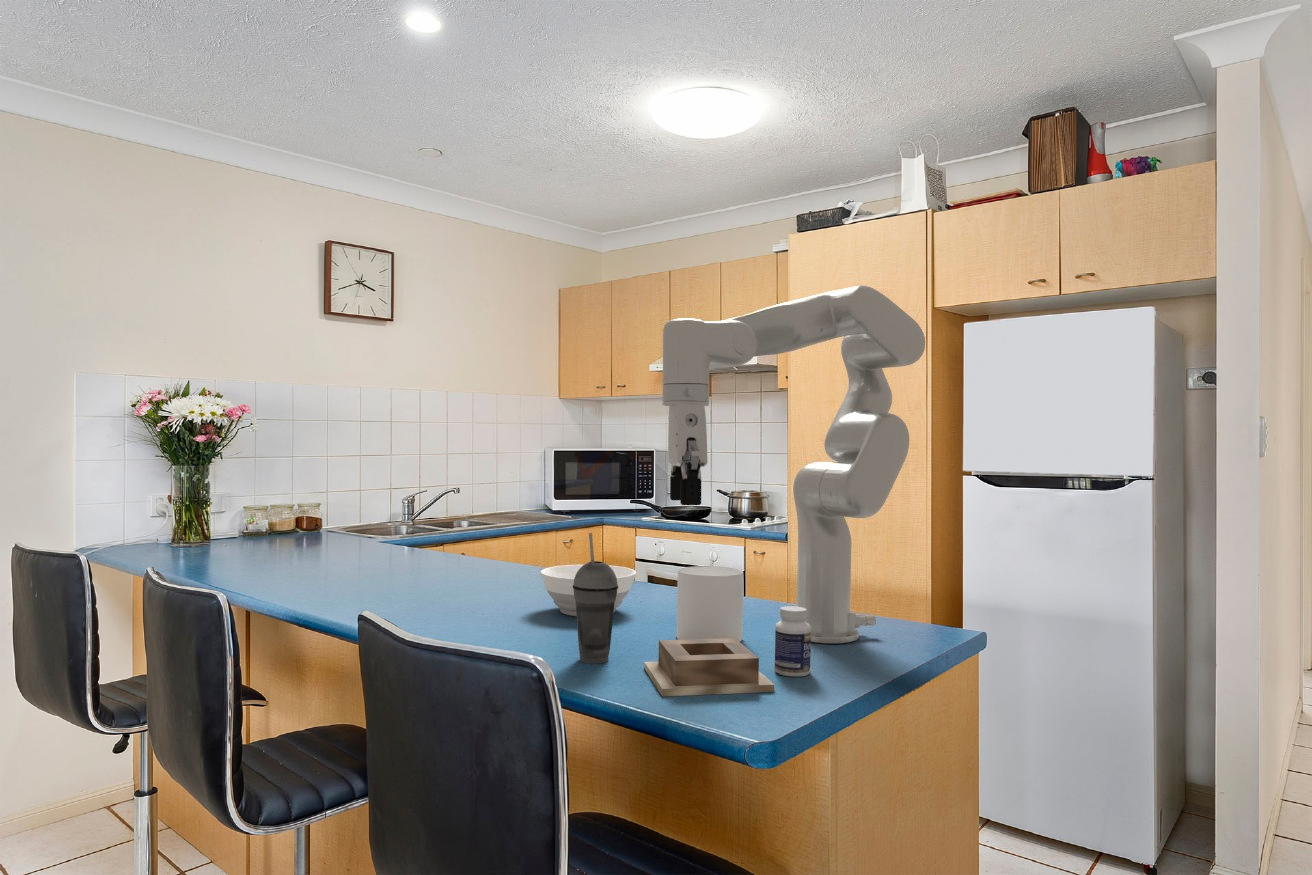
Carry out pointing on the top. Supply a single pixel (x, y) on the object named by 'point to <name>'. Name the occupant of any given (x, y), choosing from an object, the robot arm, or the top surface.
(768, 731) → the top surface
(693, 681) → the hole block
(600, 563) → the beverage cup
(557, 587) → the bowl
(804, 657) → the pill bottle
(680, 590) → the white cylinder
